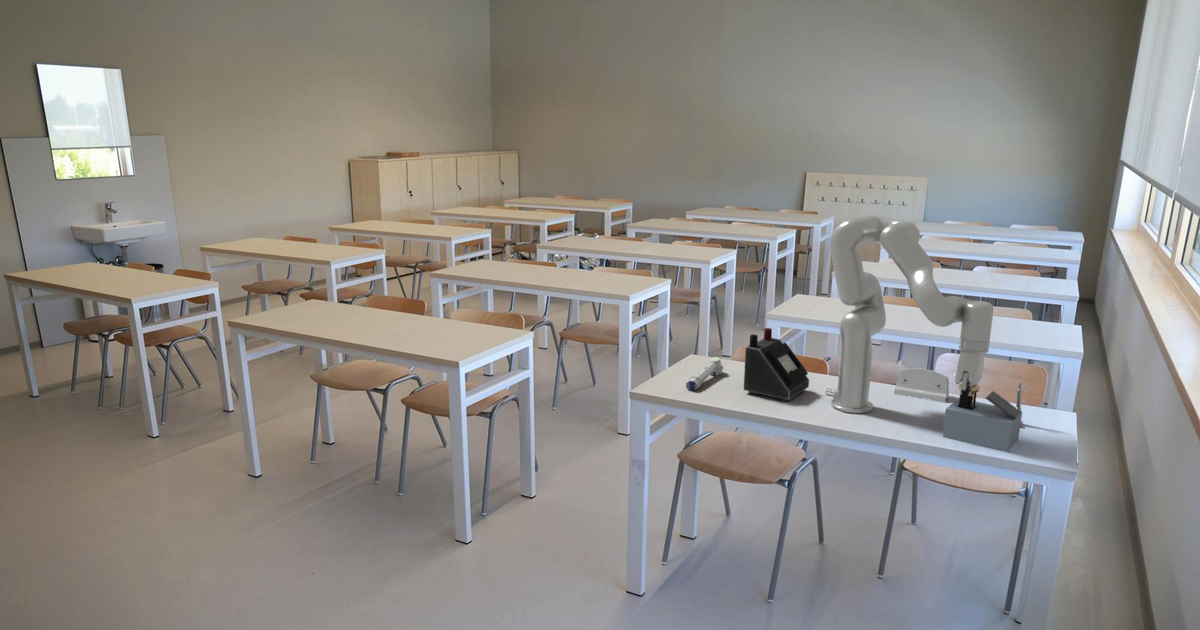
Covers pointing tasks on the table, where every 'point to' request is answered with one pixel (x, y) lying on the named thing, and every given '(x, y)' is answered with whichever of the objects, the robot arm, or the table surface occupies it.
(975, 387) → the brass pin
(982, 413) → the grey rectangular box
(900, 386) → the hinge
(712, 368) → the grey blue-ended cylinder
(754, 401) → the table surface
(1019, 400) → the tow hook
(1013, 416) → the grey flat rectangular plate
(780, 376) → the voltmeter
